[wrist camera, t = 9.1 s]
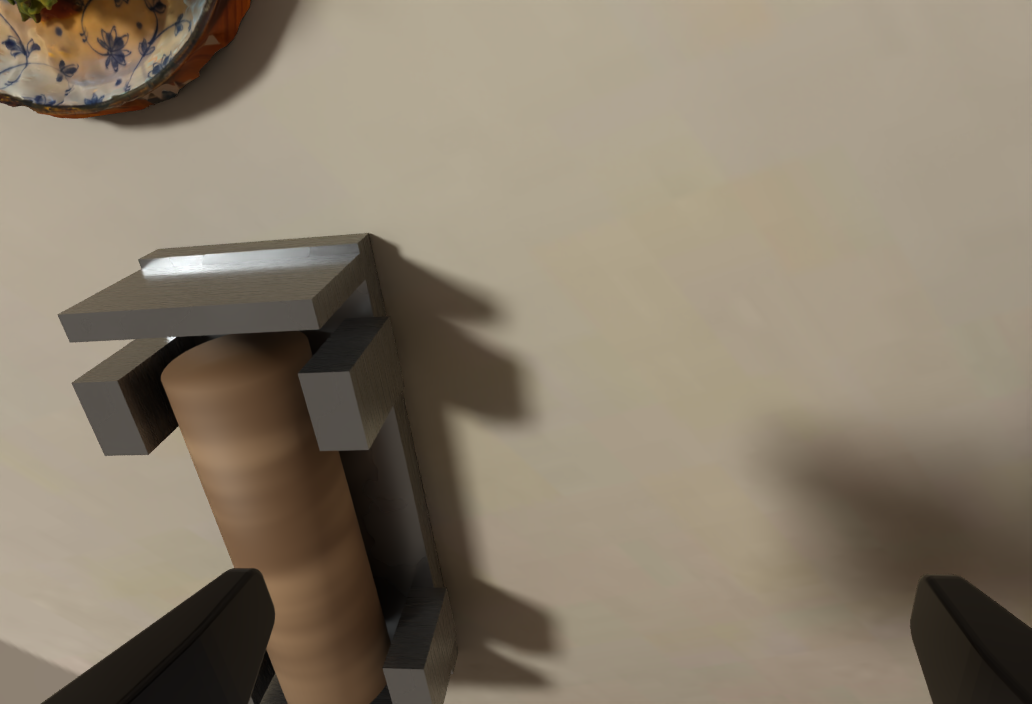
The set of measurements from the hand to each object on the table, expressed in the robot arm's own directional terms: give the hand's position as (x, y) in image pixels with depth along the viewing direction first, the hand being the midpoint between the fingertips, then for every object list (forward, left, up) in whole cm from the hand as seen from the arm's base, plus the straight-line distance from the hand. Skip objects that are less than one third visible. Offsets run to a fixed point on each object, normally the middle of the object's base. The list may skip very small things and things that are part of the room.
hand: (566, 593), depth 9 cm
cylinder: (+10, +7, -11) cm, 16 cm away
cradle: (+10, +7, -12) cm, 17 cm away
